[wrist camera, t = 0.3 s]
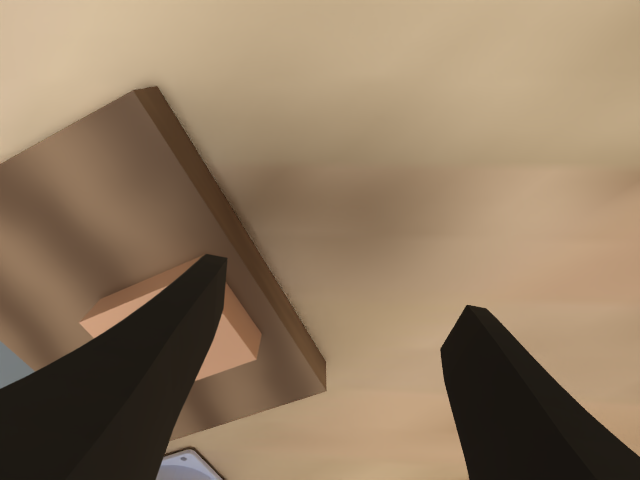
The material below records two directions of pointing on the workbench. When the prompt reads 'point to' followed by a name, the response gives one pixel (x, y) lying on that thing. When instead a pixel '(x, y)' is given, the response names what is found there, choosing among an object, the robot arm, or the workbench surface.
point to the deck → (137, 251)
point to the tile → (231, 336)
